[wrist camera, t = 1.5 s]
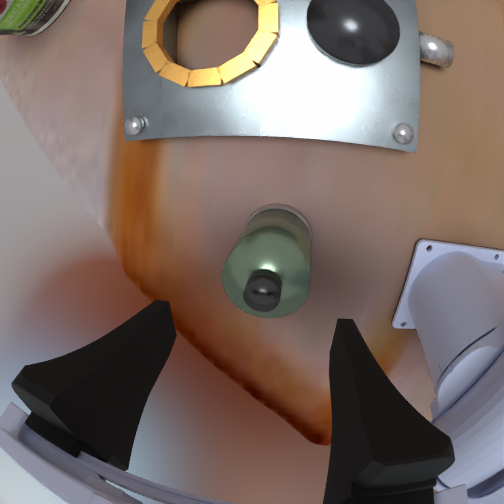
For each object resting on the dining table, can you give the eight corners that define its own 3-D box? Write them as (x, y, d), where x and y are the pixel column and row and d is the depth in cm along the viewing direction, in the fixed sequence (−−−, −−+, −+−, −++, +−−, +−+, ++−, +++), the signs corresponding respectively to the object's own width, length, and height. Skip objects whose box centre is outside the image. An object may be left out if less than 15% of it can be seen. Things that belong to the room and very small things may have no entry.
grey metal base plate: (430, -25, 8) (445, -40, 6) (436, 155, 15) (456, 163, 12) (145, -26, 12) (123, -38, 9) (140, 137, 18) (116, 143, 16)
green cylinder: (314, 206, 18) (316, 259, 12) (308, 268, 21) (304, 337, 14) (244, 201, 19) (211, 249, 13) (245, 262, 21) (217, 326, 15)
